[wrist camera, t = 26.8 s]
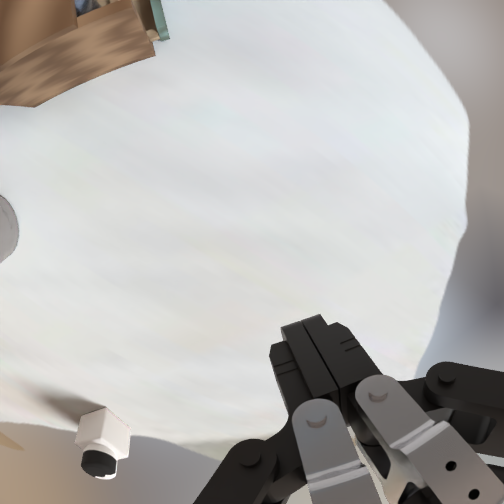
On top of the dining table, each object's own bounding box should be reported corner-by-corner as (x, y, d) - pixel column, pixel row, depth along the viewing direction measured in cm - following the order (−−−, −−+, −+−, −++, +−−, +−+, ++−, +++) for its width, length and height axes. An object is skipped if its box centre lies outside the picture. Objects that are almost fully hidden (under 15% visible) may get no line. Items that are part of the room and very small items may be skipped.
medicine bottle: (80, 415, 45) (69, 465, 34) (106, 406, 45) (96, 461, 34) (105, 435, 48) (99, 484, 37) (131, 427, 48) (127, 480, 37)
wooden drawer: (38, 92, 26) (19, 88, 22) (29, 22, 22) (11, 12, 17) (169, 38, 28) (166, 24, 23) (153, -31, 23) (149, -50, 19)
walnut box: (34, 107, 27) (-48, 103, 12) (22, 19, 21) (-45, -17, 7) (155, 55, 28) (129, 1, 14) (135, -33, 23) (112, -106, 8)
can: (92, 47, 24) (46, 13, 13) (54, 41, 23) (1, 11, 12) (113, 6, 23) (81, -42, 12) (75, 1, 21) (33, -42, 10)
